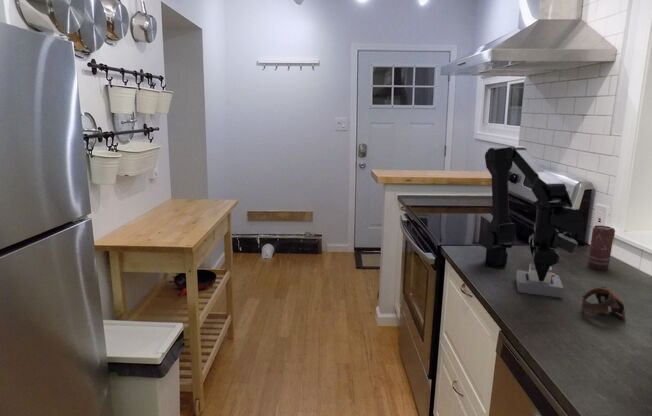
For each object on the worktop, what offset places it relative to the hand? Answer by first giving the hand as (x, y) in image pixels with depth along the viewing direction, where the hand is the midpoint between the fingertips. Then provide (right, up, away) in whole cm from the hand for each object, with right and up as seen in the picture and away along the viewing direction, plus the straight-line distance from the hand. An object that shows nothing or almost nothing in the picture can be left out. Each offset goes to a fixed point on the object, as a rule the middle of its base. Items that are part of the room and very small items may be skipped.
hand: (539, 275), depth 134 cm
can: (+29, 0, +19) cm, 34 cm away
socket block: (0, -4, +1) cm, 4 cm away
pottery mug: (+9, -8, -15) cm, 20 cm away
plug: (0, -4, +1) cm, 4 cm away
